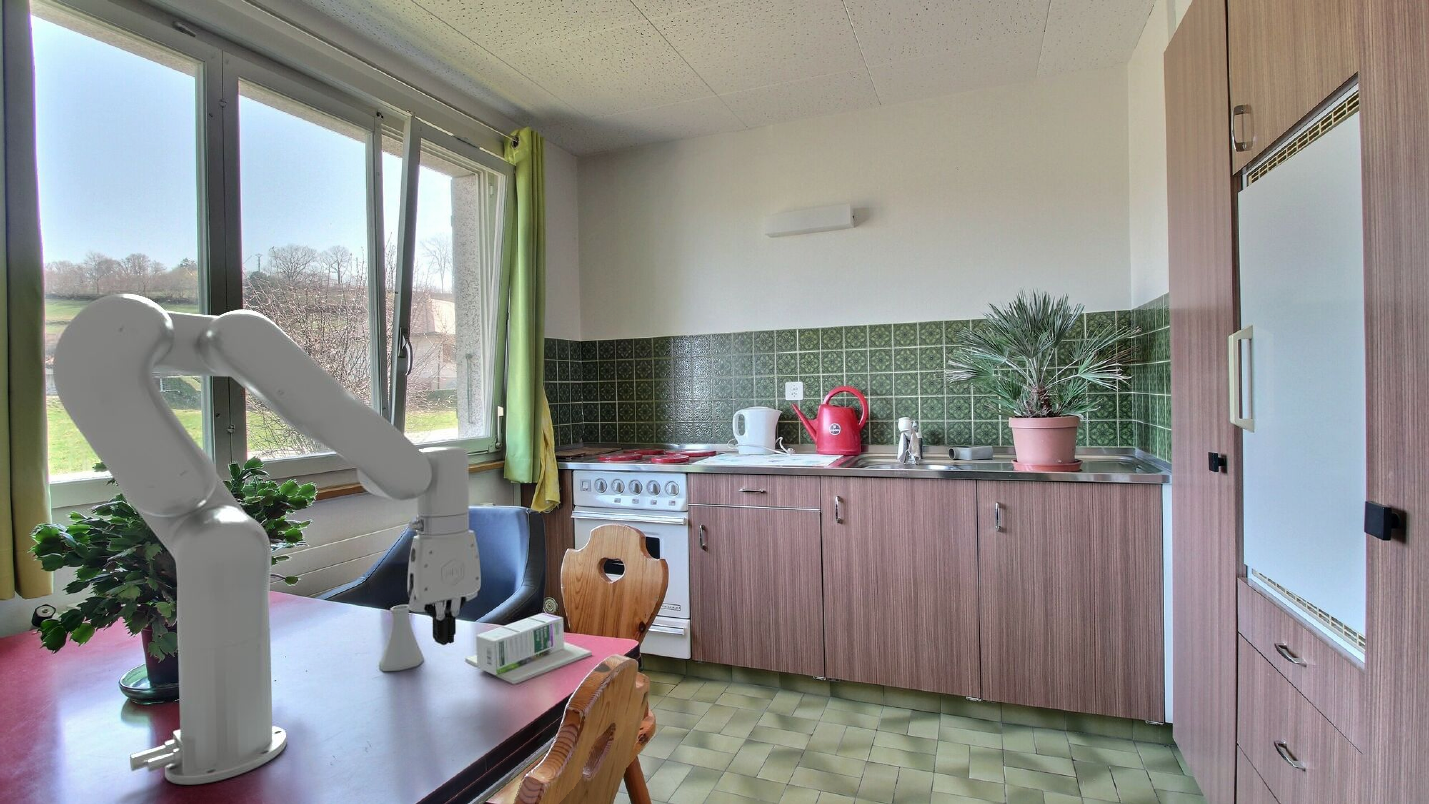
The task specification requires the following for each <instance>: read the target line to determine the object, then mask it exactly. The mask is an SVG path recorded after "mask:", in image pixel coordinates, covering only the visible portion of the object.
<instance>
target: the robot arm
mask: <svg viewBox="0 0 1429 804" xmlns="http://www.w3.org/2000/svg"><path fill="white" fill-rule="evenodd" d="M53 353H54V355H53V359H52V376H53V377H52V378H53V384H54V387H55V391H56V392H57V393H56V394H57V396H58V398H59V401H60V403H61V405H62V407H63V408H64V410H65V412H66V414H67V415H68V417H69V418H70V419H71V420H72V422H73V424H74V426H76V428H77V429H78V430H79V432H80V433H81V434H82V437H83V438H84V439H85V440H86V441H87V443H88V445H89V446H90V448H91V449H92V451H93V452H94V453H95V454H96V456H97V457H98V459H99V460H100V462H101V463H102V464H103V465H104V466H105V468H106V469H107V470H108V472H109V473H110V474H111V476H112V477H113V479H114V480H115V481H116V483H117V484H118V488H119V490H120V492H121V494H122V496H123V498H124V499H125V500H126V502H127V503H129V505H131V506H132V507H133V508H134V509H135V510H136V511H137V513H138V514H139V515H140V517H141V518H142V519H143V520H144V522H145V523H146V524H147V526H148V527H149V529H151V531H152V532H153V534H154V535H155V536H156V537H157V539H158V540H159V541H160V542H161V543H162V544H163V546H164V547H165V549H166V550H167V551H168V552H169V553H170V554H171V556H172V558H173V559H174V562H175V568H176V583H177V584H176V585H177V586H176V590H177V591H176V598H177V599H176V618H177V619H176V620H177V623H176V626H177V627H176V631H177V634H176V635H177V650H178V652H177V653H178V654H177V656H178V658H177V659H178V690H179V693H178V694H179V696H178V697H179V729H177V730H174V731H173V732H172V733H173V734H172V735H173V737H172V739H169V740H166V741H164V742H163V745H160V746H157V747H153V748H151V749H150V748H148V749H144V750H142V751H139V752H136V753H132V754H130V756H129V763H130V770H131V772H134V771H138V770H140V769H143V768H147V772H148V773H150V772H153V771H157V770H159V769H162V768H163V767H164V777H165V779H166V780H167V781H169V782H171V783H173V784H177V785H187V786H188V785H202V784H207V783H214V782H218V781H222V780H226V779H229V778H232V777H236V776H239V775H242V774H244V773H247V772H249V771H251V770H254V769H256V768H260V766H262V765H264V764H266V763H267V762H269V761H271V760H272V759H274V758H275V757H277V756H278V755H279V754H280V753H281V752H283V750H284V749H285V747H286V746H287V743H288V742H287V740H288V739H287V738H288V737H287V736H288V735H287V733H286V730H284V729H283V728H281V727H279V726H273V700H272V699H273V698H272V697H273V696H272V695H273V694H272V691H273V690H272V688H273V687H272V655H271V654H272V653H271V651H272V650H271V649H272V647H271V627H270V626H271V623H270V587H271V586H270V584H271V573H272V546H271V542H270V539H269V536H268V533H267V532H266V530H265V528H264V527H263V526H262V524H261V523H260V522H258V521H257V519H254V517H251V516H250V515H249V514H247V512H245V510H244V509H243V507H242V505H240V504H239V502H238V501H237V499H236V498H235V496H234V495H233V494H232V492H231V491H230V490H229V488H228V487H227V486H226V484H225V482H223V479H222V478H221V477H220V476H219V474H218V473H217V468H216V466H215V464H214V463H215V462H214V461H213V460H212V458H211V456H210V455H209V454H207V452H206V451H204V450H203V448H202V447H201V446H199V444H198V443H197V442H196V441H195V439H194V438H193V437H192V436H191V434H190V433H189V432H188V430H187V429H186V428H185V426H184V425H183V423H182V422H181V421H180V419H179V417H177V415H176V414H175V412H174V410H173V409H172V407H171V405H170V404H169V403H168V401H167V399H166V398H165V397H164V395H163V394H162V392H161V390H159V388H158V385H157V383H156V380H155V375H154V373H157V374H158V373H159V374H173V375H186V376H187V375H188V376H203V377H204V376H206V377H207V376H208V377H231V378H232V379H233V380H234V381H235V382H237V384H239V385H240V386H241V387H242V388H244V389H245V390H247V391H248V392H249V393H250V394H251V395H252V396H254V397H255V398H256V399H257V400H259V401H260V402H261V403H262V404H263V405H264V406H265V407H267V408H268V409H269V410H270V411H271V412H272V413H273V414H275V415H276V417H278V418H279V419H280V420H281V421H282V422H284V423H285V424H286V425H287V426H288V427H290V428H291V429H293V430H294V431H296V432H298V433H299V434H301V435H302V436H304V437H306V438H308V439H310V440H312V441H315V442H316V443H319V444H320V445H323V446H325V447H327V448H328V449H330V450H331V451H332V452H334V453H335V454H337V455H338V456H340V457H341V458H343V459H344V460H345V461H346V462H347V463H349V464H350V465H351V466H352V467H354V468H355V469H356V470H357V471H356V474H357V479H358V482H359V483H360V486H361V487H362V488H363V489H364V490H366V491H367V492H369V493H370V494H373V495H375V496H377V497H380V498H384V499H385V498H386V499H389V500H393V501H396V502H406V501H407V502H408V501H411V500H415V499H417V500H416V503H417V511H416V512H417V515H416V516H415V520H414V521H410V522H409V523H408V530H409V531H410V532H413V531H415V532H416V534H417V535H415V536H413V538H412V542H411V546H410V551H409V552H410V553H409V558H408V559H409V560H408V567H407V569H408V570H407V596H408V598H409V602H408V605H409V606H408V609H409V611H411V612H415V613H425V614H427V615H428V616H429V617H431V618H432V638H433V640H434V641H435V643H437V644H439V645H442V646H445V645H447V644H453V643H454V642H455V635H456V633H457V632H456V631H457V630H456V629H457V628H456V627H457V624H456V623H457V620H456V617H457V616H458V615H459V614H460V610H461V609H462V607H463V606H464V605H465V604H466V602H468V601H471V600H473V599H474V598H476V597H477V596H478V591H480V589H481V586H482V585H481V583H482V582H481V581H482V579H481V563H480V554H479V548H478V542H477V538H476V534H475V531H474V530H470V521H469V520H470V513H469V512H470V511H469V510H470V509H469V508H470V507H469V506H470V505H469V503H470V502H469V499H470V498H469V497H470V496H469V494H470V492H469V488H470V486H469V477H470V476H469V455H468V451H467V450H466V449H465V448H463V447H461V446H432V447H431V446H430V447H425V448H422V449H419V448H418V447H417V446H416V445H415V444H414V442H412V441H411V440H410V439H408V437H406V436H405V434H403V432H402V431H400V430H399V429H398V428H397V427H396V426H395V425H393V424H392V423H391V422H390V421H389V420H388V419H386V418H385V417H383V415H381V414H380V413H379V412H377V411H376V410H374V409H373V408H372V407H371V406H370V405H368V404H366V403H365V402H364V401H363V400H361V399H360V398H359V397H358V396H357V395H356V394H354V393H353V392H351V391H350V390H349V389H347V388H346V387H345V386H344V385H342V384H341V383H340V382H339V381H337V379H335V377H333V376H332V375H331V374H330V373H329V372H328V371H327V370H325V369H324V368H323V367H322V366H321V365H320V364H319V363H318V362H317V361H316V360H315V359H314V358H312V356H310V354H308V353H307V352H306V351H305V350H304V349H302V347H301V346H300V345H298V343H297V342H295V341H294V340H293V339H292V338H291V337H290V336H289V335H288V334H287V333H286V332H285V331H283V329H281V328H280V327H279V326H278V325H276V323H274V322H273V321H272V320H271V319H269V317H266V316H265V315H263V314H261V313H259V312H258V311H253V310H248V309H247V310H246V309H237V310H233V311H229V312H226V313H223V314H221V315H206V314H205V315H204V314H194V313H186V312H185V313H184V312H176V311H170V310H164V309H163V308H162V307H161V306H160V305H158V304H157V303H155V302H154V301H152V300H151V299H148V298H146V297H144V296H139V295H137V294H130V293H115V294H109V295H104V296H102V297H100V298H97V299H95V300H93V301H91V302H90V303H88V304H87V305H86V306H84V307H83V308H82V309H81V310H80V311H79V312H78V313H77V314H76V315H75V316H74V317H73V318H72V320H71V321H70V322H69V323H68V325H67V326H66V328H65V329H64V330H63V332H62V334H61V335H60V337H59V340H58V342H57V344H56V347H55V349H54V352H53Z"/></svg>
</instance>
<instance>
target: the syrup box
mask: <svg viewBox="0 0 1429 804" xmlns="http://www.w3.org/2000/svg"><path fill="white" fill-rule="evenodd" d="M475 637H476V638H475V639H476V642H475V643H476V654H477V667H476V668H477V669H478V670H481V671H484V672H486V673H489V674H491V673H492V675H493V674H495V675H499V674H501V673H504V672H506V671H509V670H512V669H514V668H516V667H519V666H521V665H524V664H527V663H529V662H532V661H534V660H537V659H539V658H542V657H544V656H547V655H549V654H552V653H554V652H557V651H559V650H562V649H564V642H565V638H564V617H562V616H558V615H555V614H549V613H544V612H541V613H538V614H535V615H532V616H529V617H527V618H523V619H520V620H517V621H515V622H511V623H508V624H506V625H503V626H499V627H497V628H494V629H491V630H487V631H486V632H481V633H479V634H476V636H475ZM495 675H494V676H495Z"/></svg>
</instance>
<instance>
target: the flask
mask: <svg viewBox="0 0 1429 804" xmlns="http://www.w3.org/2000/svg"><path fill="white" fill-rule="evenodd" d="M408 606H409V604H399V605H395V606H393V607H391V608H390V612H391V615H392V616H391V619H392V621H391V626H390V632H389V634H388V638H387V641H386V644H385V647H384V650H383V652H382V653H383V654H382V655H381V658H380V662H379V665H378V667H379V668H380V670H381V671H382V672H394V671H395V672H396V671H397V672H398V671H404V670H407V669H411V668H415V667H418V666H419V665H420V664H422V662H423V661H425V657H424V654H423V653H422V650H421V648H420V646H419V644H418V642H417V639H416V636H415V634H414V631H413V629H412V625H411V621H410V610H409V609H408Z"/></svg>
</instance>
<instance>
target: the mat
mask: <svg viewBox="0 0 1429 804" xmlns="http://www.w3.org/2000/svg"><path fill="white" fill-rule="evenodd" d="M589 656H592V651H591V650H588V649H586V648H583V647H580V646H577V645H575V644H572V643H568V642H566V641H564V649H562V650H559V651H557V652H554V653H552V654H549V655H547V656H544V657H542V658H539V659H537V660H534V661H532V662H529V663H527V664H524V665H521V666H519V667H516V668H514V669H512V670H509V671H506V672H504V673H501V674H499V675H495V674H492V673H490V674H492V675H493V676H495V677H497V678H500V679H501V680H503V681H505V682H508V683H509V684H513V685H517V684H519V683H521V682H524V681H527V680H529V679H532V678H534V677H537V676H541V675H542V674H545V673H548V672H550V671H553V670H556V669H558V668H561V667H564V666H567V665H569V664H571V663H574V662H577V661H579V660H581V659H584V658H587V657H589ZM464 659H465V661H464V662H466V663H467V664H469V665H471V666H474V667H476V668H477V653H476V654H474V655H470V656H467V657H465V658H464Z"/></svg>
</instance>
